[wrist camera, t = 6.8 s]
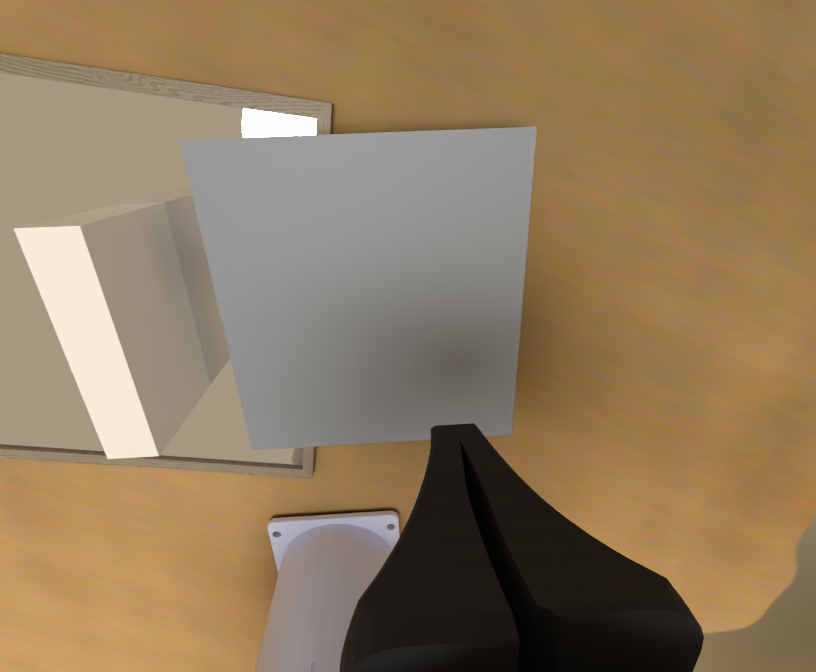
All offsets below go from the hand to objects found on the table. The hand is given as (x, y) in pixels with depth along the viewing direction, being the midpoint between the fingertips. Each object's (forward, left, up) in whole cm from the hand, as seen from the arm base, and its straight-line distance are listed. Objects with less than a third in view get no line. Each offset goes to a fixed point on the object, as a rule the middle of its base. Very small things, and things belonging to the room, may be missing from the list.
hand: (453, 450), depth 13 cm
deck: (+2, +3, -9) cm, 10 cm away
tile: (+2, +11, -6) cm, 13 cm away
